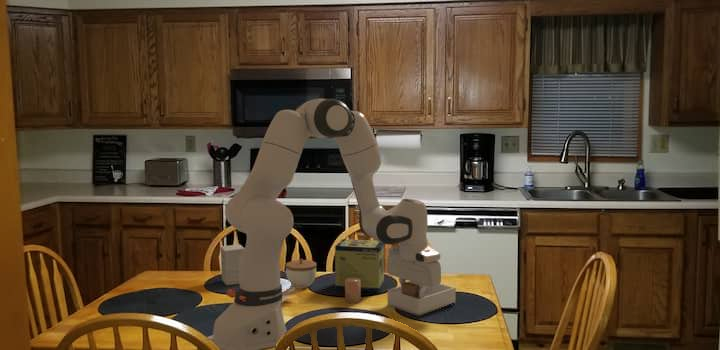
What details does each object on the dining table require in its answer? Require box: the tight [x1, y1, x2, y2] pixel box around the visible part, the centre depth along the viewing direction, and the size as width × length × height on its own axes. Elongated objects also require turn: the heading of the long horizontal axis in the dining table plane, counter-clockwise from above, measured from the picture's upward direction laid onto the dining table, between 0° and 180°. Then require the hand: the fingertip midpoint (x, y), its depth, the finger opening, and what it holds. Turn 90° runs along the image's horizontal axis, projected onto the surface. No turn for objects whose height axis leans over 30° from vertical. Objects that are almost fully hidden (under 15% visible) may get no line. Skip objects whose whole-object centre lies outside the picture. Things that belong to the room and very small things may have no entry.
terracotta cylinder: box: [344, 278, 362, 305], centre depth 206 cm, size 5×5×7 cm
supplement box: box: [220, 243, 245, 286], centre depth 228 cm, size 7×7×13 cm
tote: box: [387, 283, 457, 317], centre depth 203 cm, size 13×17×5 cm
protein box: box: [334, 238, 385, 293], centre depth 221 cm, size 10×16×16 cm
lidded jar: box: [285, 258, 317, 289], centre depth 223 cm, size 11×11×9 cm
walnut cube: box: [400, 280, 424, 299], centre depth 200 cm, size 5×5×5 cm
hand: (412, 294), depth 200 cm, fingers closed on walnut cube, 5 cm apart
